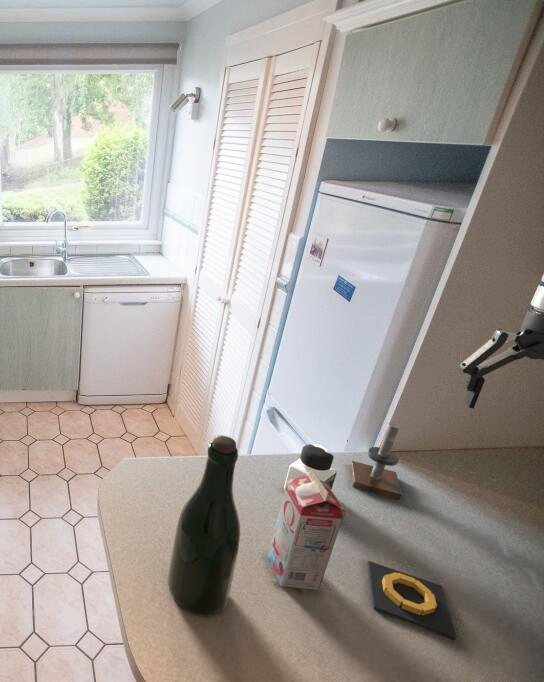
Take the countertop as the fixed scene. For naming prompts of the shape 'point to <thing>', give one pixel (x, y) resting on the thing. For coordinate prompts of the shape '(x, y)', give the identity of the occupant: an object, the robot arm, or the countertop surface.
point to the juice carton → (305, 532)
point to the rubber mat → (432, 621)
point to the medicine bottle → (313, 464)
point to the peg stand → (379, 468)
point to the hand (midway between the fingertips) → (514, 412)
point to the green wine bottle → (207, 536)
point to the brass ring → (405, 604)
